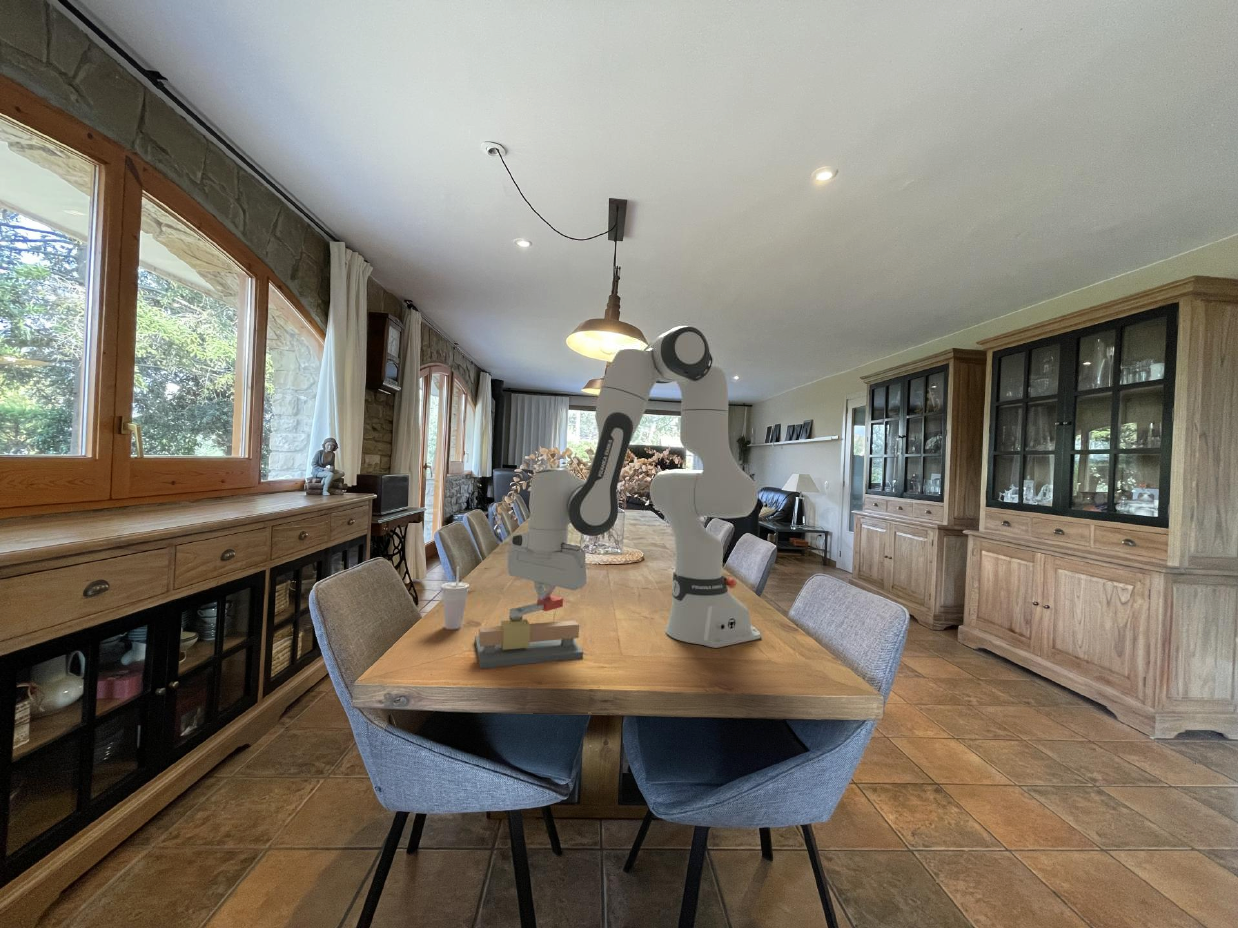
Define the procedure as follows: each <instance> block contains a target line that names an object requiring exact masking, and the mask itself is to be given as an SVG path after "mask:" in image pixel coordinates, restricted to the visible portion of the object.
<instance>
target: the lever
mask: <svg viewBox="0 0 1238 928" xmlns="http://www.w3.org/2000/svg"><path fill="white" fill-rule="evenodd" d="M563 607H564V598H562V597H558V596H555V595H553V596H550V597H548V598H544V599H540V600H538V599H537V602H535V603H531V604H527V605H523V606H519V607H513V608H511V609H509V616H508V617H509V618H508V619H509V620H512V621H519V620H523V616H525V615H528V614H532V613H535V612H540V611H543V612H549V611H553V610H556V609H560V608H563Z"/></svg>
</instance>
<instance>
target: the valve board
mask: <svg viewBox="0 0 1238 928" xmlns="http://www.w3.org/2000/svg"><path fill="white" fill-rule="evenodd" d="M579 635H580V624H579V622H577V620H563V621H550V622H537V623H536V622H535V623H530V622H529V621H528V619H527V618H525V619H523V618H522V620H519V621H512V620H510V619H509V620H501V622H500V625H497V626H481V627H478V635H477V636H475V635H474V643H475V644H474V645H475V649H476V653H477V657H478V661H479V667H480V669H488V668H499V667H508V666H509V667H510V666H518V665H527V664H528V665H529V664H537V663H538V664H539V663H546V662H557V661H565V660H566V661H567V660H573V659H575V660H576V659H584V651H583V650H582V649H581V648H580V646H579V644H578V643H577V642H576V640H575V639H579V637H580V636H579Z"/></svg>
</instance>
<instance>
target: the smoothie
mask: <svg viewBox="0 0 1238 928" xmlns="http://www.w3.org/2000/svg"><path fill="white" fill-rule="evenodd" d="M469 590H470V584H469V583H467V582H463V581H460V566H456V579H455V581H451V582H446V583H443V584H441V585H440V592H441V596H442V597H441V598H442V608H443V619H444V628H445V629H446V630H458V629H460V628H462V626H463V620H464V616H465V615H464V613H465V609H466V602H467V598H468V591H469Z"/></svg>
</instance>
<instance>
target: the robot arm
mask: <svg viewBox="0 0 1238 928" xmlns="http://www.w3.org/2000/svg"><path fill="white" fill-rule="evenodd" d="M606 371H607V372H606V374H605V376H604V378H603V381H602V385H601V388H600V389H599V390H600V391H599V392H598V393H599V394H598V396H597V400H596V409H595V415H594V418H595V422H596V427H597V431H598V432H597V433H598V435H597V438H598V439H597V444H596V445H597V446H596V449H595V452H594V456H593V459H592V462H591V466H590V468H589V473H588V476H587V478H586V480H585V479H583V478H580V477H579V476H577V475H575V474H574V473H572V472H571V471H570V470H569V469H568V468H566V467H551V468H545V469H540V470H539V471H537V472H536V473H535V474H534V475H533V477H532V480H531V484H530V492H529V501H528V502H529V503H528V508H529V512H530V517H529V521H528V524H527V530H526V531H523V532H520V533H516V534H512V535H510V537H509V545H511V546H510V547H509V549H508V553H507V559H506V560H507V561H506V570H507V572H508V575H509V576H510V577H515V578H519V579H523V580H527V581H531V582H534V583H533V585H534V589H535V591H536V593H537V600H540V599H544V598H548V597H551V595H552V594H553V592H554V590H556V587H557V588H561V589H562V588H563V589H567V590H570V591H578V590H581V589H583V588H584V587H586V585H587V565H586V558H587V557H586V552H585V550H584V549H583V548H581V546H580V545H577V544H575V545H574V544H570V543H568V533H569V525H570V524H571V525H572V527H573V528H574V529H575V530H576V531H577V532H579V533H580V534H582V535H584V536H586V537H587V536H588V537H598V536H601V535H604V534H605V533H608V532H609V530H611V529H612V527H614V526H615V523H616V522H617V520H618V519H617V518H618V516H619V504H618V498H617V497H618V495H617V494H618V492H617V490H618V484H619V480H620V476H621V473H622V470H623V466H624V463H625V459H626V455H627V452H628V449H629V447H630V443H631V441H632V439H633V437H634V435H635V433H636V431H637V429H638V427H639V426H640V423H641V420H643V419H642V418H643V416H644V414H645V411H646V409H647V405H648V402H649V399H650V395H651V392H652V389H653V387H654V385H655V384H669V383H673V382H676V383H677V385H678V388H679V391H680V394H681V395H680V396H681V403H680V405H681V406H680V430H679V433H680V434H679V435H680V436H679V437H680V438H679V440H680V444H681V445H682V447H683V448H684V449H685V450H686V451H687V452H689V453H691V455H694V456H696V457H698V458H699V460H700V461H701V464H702V469H683V468H675V469H668V470H667V469H666V470H663V471H659V472H657V473H656V474H655V476H653V479H652V480H651V481H650V482H651V483H650V486H649V496H650V500H651V503H652V504H653V505H654V507H655V508H656V510H658V511H659V512H660V513H661V514H662V515H663V516H664V518H665V520H667V522H668V524H669V526H670V528H671V532H672V534H673V539H674V547H675V548H674V549H675V550H674V551H675V552H674V553H675V554H674V556H675V557H674V558H675V559H674V563H675V564H674V565H675V566H674V571H673V574H672V585H671V587H672V588H671V592H672V594H671V595H672V603H671V607H670V614H669V617H668V620H667V624H666V626H665V633H666V634H667V635H668V636H669V637H671V638H673V639H675V640H678V641H681V642H685V643H690V644H695V645H696V644H697V645H703V646H706V647H709V648H712V649H713V648H715V649H716V648H717V649H718V648H722V647H726V646H730V645H732V646H733V645H737V644H739V643H745V642H749V641H755V640H759V639H761V633H760V631H759V630H758V628H756V627H754V626H753V625H752V623H751V615H750V611H749V610H748V608H747V607H746V606H745V605H744V603H742V602H741V601H740V600H739V599H737V597H736V596H734V595H733V594H732V593H731V592H729V590H728V587H729V588H732V589H734V588H736V586H737V584H738V582H737V579H734V578H732V577H728V578H727V577H726V576H724V575H723V561H724V560H723V558H724V557H723V556H724V547H723V543H722V541H721V540H720V539H719V537H718V536H717V535H715V534H714V533H712V532H711V531H709V530H708V529H707V528H705V527H704V525H703V523H702V518H701V517H705V518H706V517H709V518H718V519H719V518H720V519H738V518H742V517H743V518H744V517H748V516H749V515H750V514H752V512H753V510H755V508H756V506H757V503H758V498H759V496H758V495H759V494H758V487H757V485H756V483H755V482H754V480H753V478H751V477H750V475H749V474H747V472H745V471H744V470H742V468H741V467H740V466H739V464H738V463H737V461H736V460H735V458H734V456H733V454H732V450H731V448H730V440H729V393H728V383H727V377H726V373H725V371H724V370H723V369H722V368H721V367H719V366H718V365H716V364H713V356H712V354H711V353H710V347H709V343H708V341H707V338H706V336H705V335H704V334H703V332H702V331H700V330H699V329H698V328H695V327H693V326H690V325H683V326H682V325H680V326H677V327H673V328H672V329H670V330H669V331H666V332H664V333H662V334H661V335H659V336H658V337H657V338H656V339H655V340H654V341H653V342H651V343H649V344H648V345H647V346H646V347H645V348H644V349H642V348H638V347H635V346H627V347H623V348H621V349H620V350H618V351H617V353H616V354H615V356H614V358H613V359H612V361H611V363H610V365H609V367H608V368H607V370H606Z"/></svg>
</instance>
